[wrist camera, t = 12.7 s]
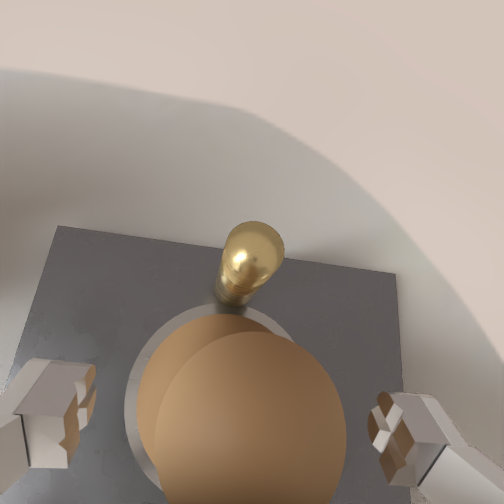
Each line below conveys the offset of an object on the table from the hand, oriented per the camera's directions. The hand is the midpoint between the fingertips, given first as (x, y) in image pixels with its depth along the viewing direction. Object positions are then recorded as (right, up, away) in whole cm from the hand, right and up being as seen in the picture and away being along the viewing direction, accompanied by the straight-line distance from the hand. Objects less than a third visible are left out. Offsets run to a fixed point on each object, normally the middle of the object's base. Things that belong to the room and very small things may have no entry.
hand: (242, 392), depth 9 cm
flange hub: (-1, -2, +5) cm, 6 cm away
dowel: (-1, +2, +7) cm, 8 cm away
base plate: (-1, -2, +7) cm, 8 cm away
